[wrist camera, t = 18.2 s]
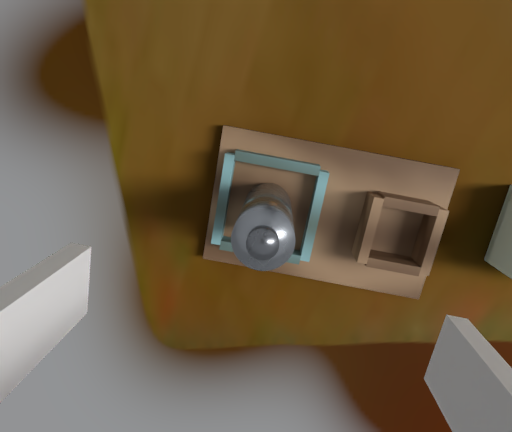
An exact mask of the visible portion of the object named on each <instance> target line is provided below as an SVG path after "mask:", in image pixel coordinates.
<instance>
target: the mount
mask: <svg viewBox="0 0 512 432" xmlns="http://www.w3.org/2000/svg"><path fill="white" fill-rule="evenodd" d="M459 171H460V169H456V168H452V167H446V166H441V165H435V164H430V163H425V162H419V161H414V160H409V159H403V158H398V157H392V156H387V155H382V154H376V153H371V152H366V151H360V150H355V149H349V148H344V147H339V146H333V145H328V144H323V143H317V142H312V141H307V140H301V139H296V138H290V137H285V136H280V135H274V134H269V133H264V132H258V131H253V130H247V129H242V128H237V127H231V126H226V125H223V130H222V136H221V143H220V150H219V156H218V163H217V169H216V176H215V182H214V189H213V195H212V202H211V208H210V215H209V221H208V228H207V234H206V241H205V247H204V254H203V258H204V259H209V260H214V261H219V262H225V263H230V264H235V265H241V266H245V265H244V264H243V263H242V262H240V261H239V259H238V258H237V257H236V255H235V254H234V252H233V249H232V245H231V234H232V230H233V228H234V225H235V223H236V221H237V218H238V216H239V214H240V211H241V209H242V207H243V204H244V202H245V199H246V197H247V195H248V193H249V192H250V191H251V189H252V188H254V187H255V186H257V185H259V184H262V183H274V184H277V185H279V186H281V187H282V188H283V189H284V190H285V191H286V192H287V193H288V195H289V197H290V201H291V208H292V216H293V224H294V232H295V248H294V251H293V253H292V255H291V257H290V258H289V259H288V261H287V262H286V263H284V264H283V265H282V266H280V267H278V268H276V269H273V270H268V271H272V272H277V273H283V274H288V275H293V276H299V277H304V278H309V279H314V280H320V281H325V282H330V283H335V284H341V285H346V286H351V287H357V288H362V289H367V290H372V291H378V292H383V293H388V294H393V295H399V296H404V297H409V298H415V299H419V297H420V294H421V291H422V288H423V285H424V282H425V278H426V276H429V274H430V271H431V267H432V264H433V261H434V258H435V255H436V252H437V249H438V245H439V242H440V239H441V236H442V233H443V230H444V227H445V223H446V220H447V217H448V214H449V211H448V210H447V209H448V206H449V203H450V199H451V196H452V193H453V190H454V187H455V184H456V180H457V177H458V174H459ZM246 267H247V266H246Z"/></svg>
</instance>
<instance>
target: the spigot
mask: <svg viewBox="0 0 512 432" xmlns="http://www.w3.org/2000/svg"><path fill="white" fill-rule="evenodd" d="M231 245H232V249H233V252H234V254H235V255H236V257H237V258H238V259H239V261H240V262H242V263H243V264H244V265H245V266H247V267H249V268H251V269H254V270H259V271H268V270H273V269H276V268H278V267H280V266H282V265H283V264H284V263H286V262H287V261H288V259H289V258H290V257H291V255H292V253H293V251H294V248H295V232H294V224H293V216H292V208H291V201H290V197H289V195H288V193H287V192H286V191H285V190H284V189H283V188H282V187H281V186H279V185H277V184H274V183H262V184H259V185H257V186H255V187H254V188H252V189H251V191H250V192H249V193H248V195H247V197H246V199H245V202H244V204H243V207H242V209H241V211H240V214H239V216H238V218H237V221H236V223H235V225H234V228H233V230H232V234H231Z"/></svg>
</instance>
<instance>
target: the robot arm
mask: <svg viewBox="0 0 512 432" xmlns="http://www.w3.org/2000/svg"><path fill="white" fill-rule="evenodd" d="M90 260H91V246H85V245H80V244H75V243H70V244H68V245H67V246H65V247H63V248H62V249H60V250H59V251H57V252H55V253H54V254H52V255H51V256H49V257H47V258H46V259H44V260H43V261H41V262H39V263H38V264H36V265H35V266H33V267H31V268H30V269H28V270H27V271H25V272H24V273H22V274H21V275H19V276H17V277H15V278H14V279H12V280H11V281H9V282H7V283H6V284H4V285H3V286H1V287H0V403H1V402H2V401H3V400H4V399H5V398H6V397H7V396H8V394H10V392H11V391H12V390H13V389H14V388H15V387H16V386H17V385H18V384H19V383H20V382H21V381H22V380H23V379H24V378H25V377H26V376H27V375H28V374H29V373H30V371H32V370H33V369H34V367H35V366H36V365H37V364H38V363H39V362H40V361H41V360H42V359H43V358H44V357H45V356H46V355H47V354H48V353H49V352H50V351H51V350H52V349H53V348H54V347H55V346H56V345H57V344H58V343H59V341H61V340H62V338H63V337H64V336H65V335H66V334H67V333H68V332H69V331H70V330H71V329H72V328H73V327H74V326H75V325H76V324H77V323H78V322H79V321H80V320H81V319H82V318H83V316H85V315H86V313H87V307H88V292H89V276H90ZM424 379H425V381H426V383H427V385H428V387H429V389H430V391H431V393H432V394H433V396H434V398H435V400H436V402H437V404H438V406H439V407H440V409H441V411H442V413H443V415H444V417H445V419H446V421H447V423H448V424H449V426H450V428H451V430H452V432H512V368H511V367H510V366H509V365H508V364H507V363H506V361H505V360H504V359H503V358H502V357H501V356H500V355H499V354H498V352H497V351H496V350H495V349H494V348H493V347H492V346H491V345H490V343H489V342H488V341H487V340H486V339H485V338H484V337H483V336H482V335H481V333H480V332H479V331H478V330H477V329H476V328H475V327H474V326H473V324H472V323H471V322H470V321H469V320H468V319H466V318H460V317H455V316H450V315H446V318H445V320H444V323H443V326H442V329H441V332H440V334H439V337H438V340H437V343H436V346H435V349H434V352H433V354H432V357H431V360H430V363H429V365H428V368H427V371H426V374H425V377H424Z"/></svg>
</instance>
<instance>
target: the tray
mask: <svg viewBox="0 0 512 432" xmlns="http://www.w3.org/2000/svg"><path fill="white" fill-rule="evenodd" d="M484 260H485V261H486V262H488V263H489V264H490V265H492V266H493V267H495V268H496V269H498V270H499V271H501V272H502V273H504V274H505V275H507V276H508V277H509V278H511V279H512V185H510V187H509V190H508V193H507V196H506V198H505V201H504V204H503V207H502V210H501V213H500V215H499V218H498V221H497V224H496V227H495V230H494V232H493V235H492V238H491V241H490V244H489V247H488V249H487V252H486V255H485V258H484Z"/></svg>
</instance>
